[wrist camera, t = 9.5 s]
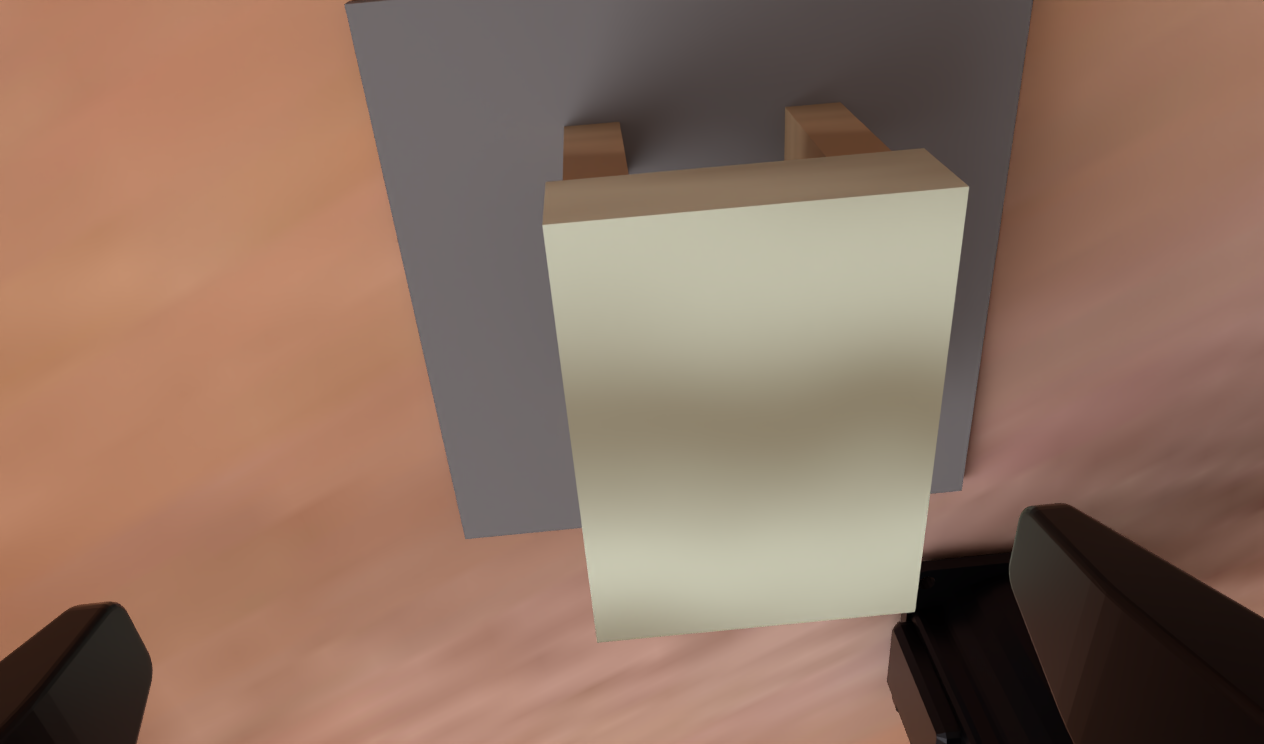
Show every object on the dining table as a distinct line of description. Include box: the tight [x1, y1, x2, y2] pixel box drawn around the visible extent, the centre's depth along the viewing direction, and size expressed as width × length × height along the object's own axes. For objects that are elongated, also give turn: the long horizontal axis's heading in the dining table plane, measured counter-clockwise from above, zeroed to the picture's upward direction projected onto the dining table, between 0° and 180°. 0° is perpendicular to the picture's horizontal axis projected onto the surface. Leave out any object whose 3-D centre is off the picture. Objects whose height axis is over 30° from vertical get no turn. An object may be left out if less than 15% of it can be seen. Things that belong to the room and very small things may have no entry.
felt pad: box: [345, 0, 1033, 539], centre depth 21 cm, size 14×14×1 cm
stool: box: [542, 102, 969, 643], centre depth 19 cm, size 9×6×6 cm
